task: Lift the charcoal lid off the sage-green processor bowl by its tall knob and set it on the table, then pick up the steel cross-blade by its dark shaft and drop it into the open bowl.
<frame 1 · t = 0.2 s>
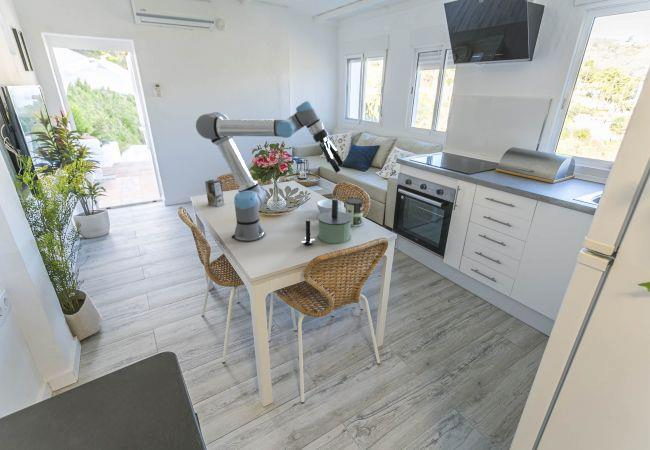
hand: (339, 167, 164), 35 cm above the table, tool tilted 30°, fingers open, 13 cm apart
cereal bowl: (330, 213, 200), on the table
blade: (308, 243, 161), on the table
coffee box: (216, 204, 214), on the table
bowl chamber: (334, 236, 169), on the table
coffee can: (353, 223, 186), on the table
lid: (334, 218, 164), point 10 cm above the table, touching bowl chamber
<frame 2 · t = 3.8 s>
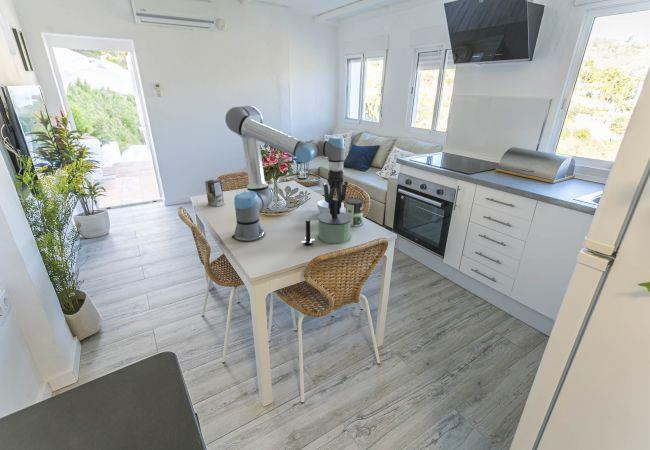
hand: (334, 213, 163), 13 cm above the table, tool pointing down, fingers closed on lid, 3 cm apart
lid: (334, 218, 164), point 11 cm above the table, touching bowl chamber, gripper
everything else where it was.
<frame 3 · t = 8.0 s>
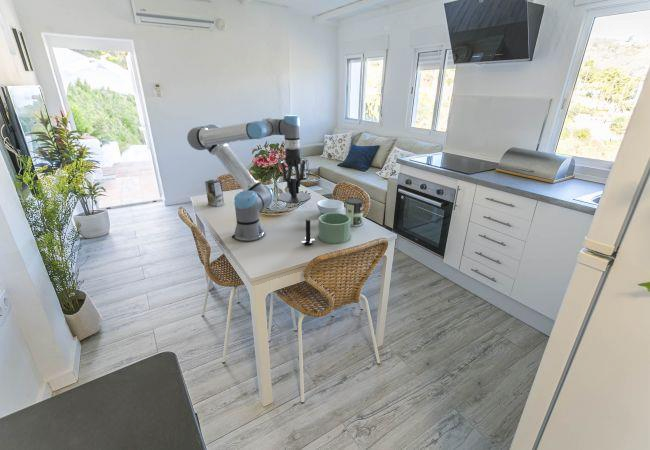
hand: (293, 193, 165), 22 cm above the table, tool pointing down, fingers closed on lid, 3 cm apart
lid: (294, 197, 166), point 20 cm above the table, touching gripper
everything else where it was.
when the fingers open (3 cm above the table, at t = 12.2 s): lid stays where it is, point 1 cm above the table.
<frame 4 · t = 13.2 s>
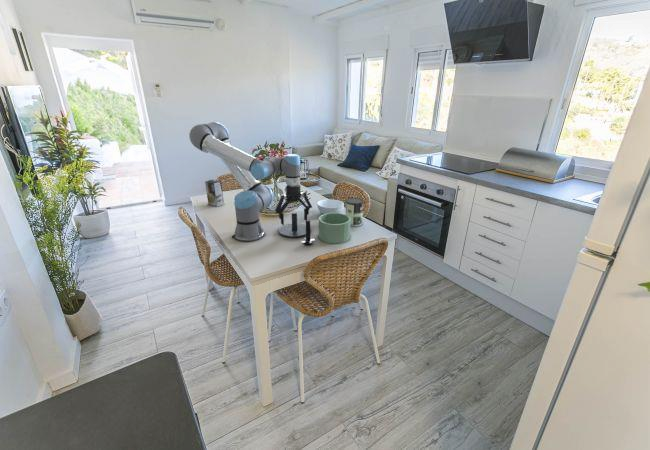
hand: (294, 222, 172), 6 cm above the table, tool pointing down, fingers open, 13 cm apart
lid: (294, 230, 174), point 1 cm above the table
everything else where it was.
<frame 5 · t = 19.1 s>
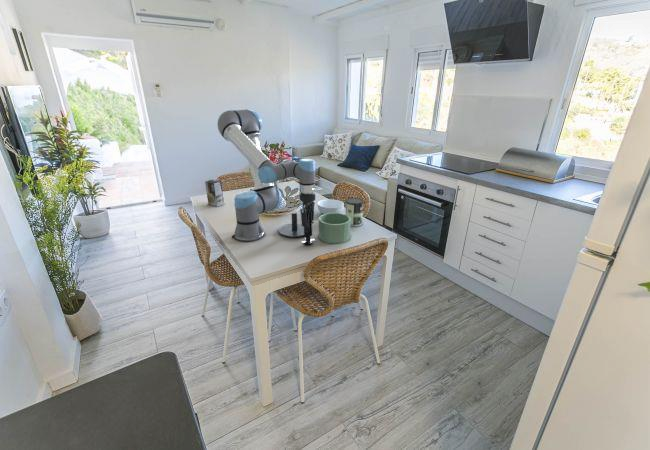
hand: (308, 236, 159), 4 cm above the table, tool pointing down, fingers closed on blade, 2 cm apart
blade: (308, 243, 161), on the table, touching gripper
everything else where it was.
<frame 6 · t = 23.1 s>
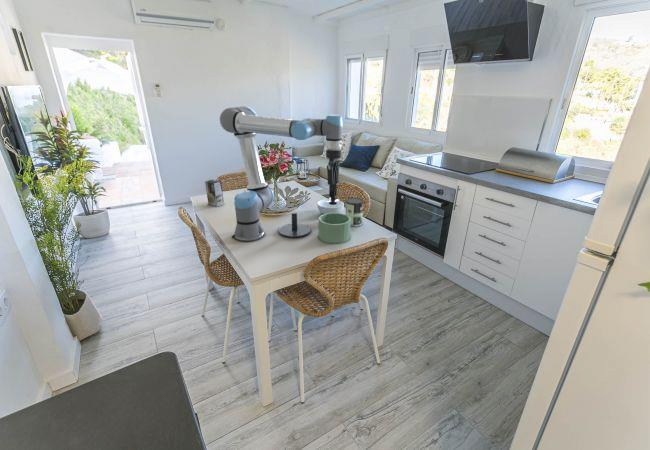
hand: (332, 196, 159), 23 cm above the table, tool pointing down, fingers closed on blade, 2 cm apart
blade: (332, 203, 160), point 19 cm above the table, touching gripper
everything else where it was.
when the fingers open (7 cm above the table, at t = 27.1 s): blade drops 2 cm, resting on bowl chamber.
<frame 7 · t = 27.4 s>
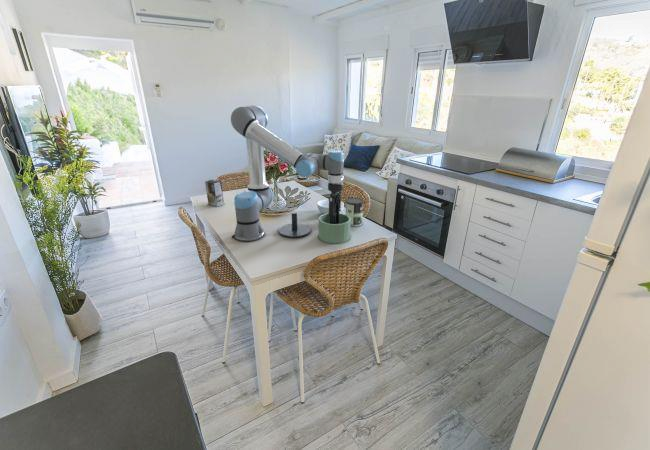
hand: (334, 224, 166), 7 cm above the table, tool pointing down, fingers open, 6 cm apart
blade: (334, 235, 168), point 1 cm above the table, touching bowl chamber
everything else where it was.
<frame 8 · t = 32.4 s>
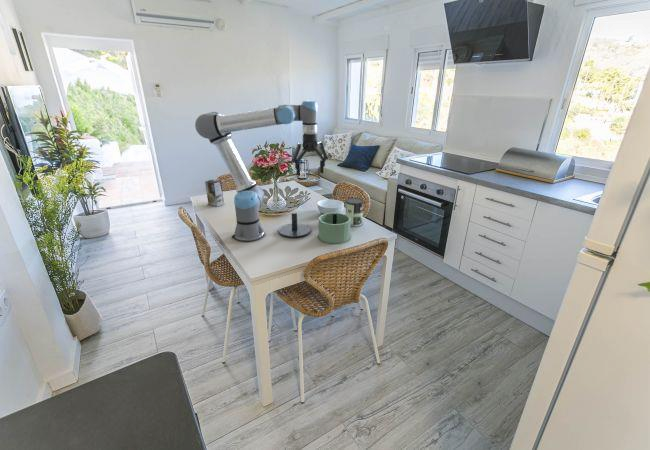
hand: (310, 174, 169), 31 cm above the table, tool pointing down, fingers open, 13 cm apart
nothing on the table moved.
at the end: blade inside the target area in the bowl chamber (0.0 cm from its centre), point 0.5 cm above the bowl chamber's base; lid inside the target area (0.1 cm from its centre), point 0.6 cm above the table; lid tilted 0° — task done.
